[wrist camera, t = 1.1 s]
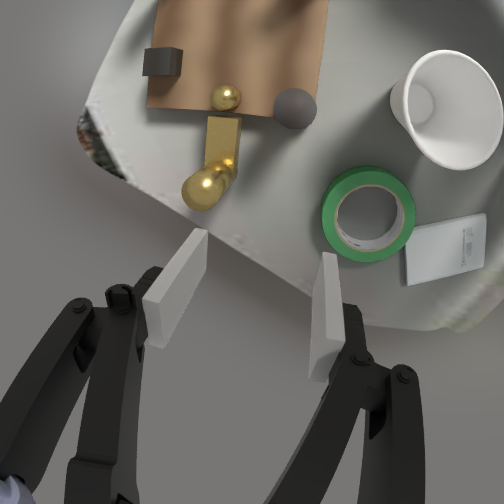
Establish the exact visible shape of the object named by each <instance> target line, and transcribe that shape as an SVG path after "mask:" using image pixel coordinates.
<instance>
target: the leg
mask: <svg viewBox="0 0 504 504" xmlns="http://www.w3.org/2000/svg"><path fill="white" fill-rule="evenodd" d="M241 100H242V95H241V92H240V91H239V89H237V88H236V87H233V86H224V85H222V86H217V87H216V88H214V89H213V90H212V92H211V94H210V103H211V105H212V106H213V107H214V108H216V109H218V110H227V109H232V108H235V107H237V106H238V105H239V104H240V103H241ZM241 127H242V118H241V117H232V116H222V115H211V116H208V122H207V134H206V147H205V161H204V167H203V168H201V169H200V170H199V171H197V172H196V173H195V174H193V175H192V176H191V177H189V178H188V179H187V180H186V181H185V182H184V184H183V186H182V198H183V200H184V202H185V203H186V204H187V206H189V207H190V208H191V209H193V210H196V211H207V210H209V209H211V208H212V207H213V206H214V205H215V203H216V202H217V201H218V200H219V198H220V197H221V196H222V195H223V194H224V192H225V191H226V190H227V189H228V188H229V186H230V185H231V184H232V183H233V181H234V180H235V179H236V177H237V173H238V170H237V164H238V155H239V145H240V136H241Z"/></svg>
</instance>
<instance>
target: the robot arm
mask: <svg viewBox="0 0 504 504" xmlns="http://www.w3.org/2000/svg"><path fill="white" fill-rule="evenodd" d="M207 242H208V230H205V229H198V228H195V229H194V230H193V232H192V233H191V234H190V235H189V237H188V238H187V239H186V240H185V242H184V243H183V244H182V246H181V247H180V248H179V250H178V251H177V252H176V253H175V255H174V256H173V258H172V259H171V260H170V261H169V263H168V264H167V265H166V267H165V268H160V267H156V266H154V267H152V268H151V269H149V270H147V271H146V272H145V273H144V274H143V276H142V278H140V280H139V281H138V283H136V284H135V286H134V287H131V286H129V285H126V284H116V285H114V286H111V287H110V288H108V289H107V290H106V292H105V296H106V301H107V305H108V307H106V308H103V307H101V308H100V307H93V305H92V302H91V301H90V300H89V299H86V298H76V299H74V300H72V301H70V302H69V303H68V304H67V305H66V306H65V308H64V309H63V310H62V312H61V313H60V314H59V316H58V317H57V318H56V320H55V321H54V322H53V324H52V325H51V326H50V328H49V329H48V331H47V332H46V333H45V335H44V336H43V338H42V339H41V340H40V342H39V343H38V345H37V346H36V347H35V349H34V350H33V352H32V353H31V355H30V356H29V358H28V359H27V361H26V362H25V364H24V365H23V367H22V368H21V370H20V371H19V373H18V375H17V376H16V378H15V379H14V381H13V382H12V384H11V386H10V387H9V389H8V391H7V392H6V394H5V396H4V397H3V399H2V401H1V403H0V504H36V503H35V501H34V499H33V497H32V493H33V492H34V490H35V489H36V488H37V486H38V485H39V483H40V481H41V479H42V477H43V475H44V473H45V471H46V468H47V465H48V463H49V461H50V458H51V456H52V454H53V451H54V449H55V447H56V444H57V442H58V440H59V438H60V436H61V433H62V431H63V429H64V427H65V425H66V423H67V420H68V418H69V416H70V414H71V412H72V410H73V408H74V406H75V404H76V402H77V400H78V398H79V395H80V394H81V392H82V390H83V387H84V386H85V384H86V382H87V380H88V378H89V376H90V379H89V384H88V389H87V394H86V399H85V404H84V409H83V415H82V420H81V427H80V433H79V440H78V447H77V453H76V456H75V457H73V458H71V459H70V461H69V463H68V467H67V474H66V484H65V497H64V504H140V502H139V494H138V493H139V492H138V489H137V484H136V458H137V432H138V414H139V401H140V390H141V379H142V369H143V360H144V352H145V351H144V350H145V348H144V342H145V340H146V338H147V337H148V340H149V344H150V345H153V346H157V347H160V348H163V349H164V348H165V347H166V345H167V343H168V341H169V339H170V337H171V335H172V333H173V331H174V329H175V327H176V326H177V323H178V322H179V320H180V318H181V316H182V314H183V312H184V311H185V309H186V307H187V305H188V303H189V301H190V299H191V297H192V296H193V294H194V292H195V290H196V288H197V286H198V285H199V283H200V281H201V279H202V277H203V275H204V274H205V272H206V265H207ZM362 321H363V319H362V313H361V311H360V310H359V308H358V307H357V305H352V304H346V303H342V297H341V288H340V279H339V271H338V263H337V255H336V254H333V253H328V252H323V254H322V258H321V261H320V265H319V269H318V272H317V276H316V280H315V283H314V287H313V290H312V320H311V345H310V364H309V380H310V381H317V382H326V380H327V378H328V376H329V385H328V387H327V389H326V390H325V392H324V394H323V396H322V398H321V402H320V403H319V405H318V407H317V409H316V411H315V413H314V415H313V418H312V419H311V422H310V423H309V426H308V427H307V429H306V431H305V433H304V435H303V437H302V439H301V441H300V443H299V445H298V446H297V448H296V450H295V452H294V454H293V455H292V457H291V459H290V461H289V462H288V464H287V466H286V468H285V470H284V471H283V473H282V474H281V476H280V478H279V479H278V481H277V483H276V484H275V486H274V488H273V489H272V491H271V493H270V494H269V496H268V497H267V499H266V500H265V502H264V503H263V504H320V502H321V501H322V499H323V497H324V495H325V493H326V491H327V488H328V487H329V484H330V482H331V480H332V478H333V476H334V474H335V471H336V469H337V467H338V464H339V462H340V459H341V458H342V455H343V452H344V450H345V448H346V445H347V443H348V440H349V438H350V435H351V432H352V430H353V427H354V424H355V422H356V419H357V416H358V413H359V411H360V408H363V409H365V410H366V414H365V433H364V447H363V459H362V469H361V478H360V487H359V495H358V502H357V504H425V445H424V428H423V416H422V405H421V396H420V388H419V380H418V376H417V373H416V372H415V371H414V370H413V369H412V368H411V367H409V366H407V365H404V364H401V365H400V364H398V365H396V366H394V367H393V368H392V370H391V369H388V368H386V367H383V366H381V365H379V364H377V363H375V362H374V359H373V356H372V355H371V354H370V353H369V352H368V351H367V347H366V339H365V333H364V328H363V322H362ZM90 374H91V375H90Z"/></svg>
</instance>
